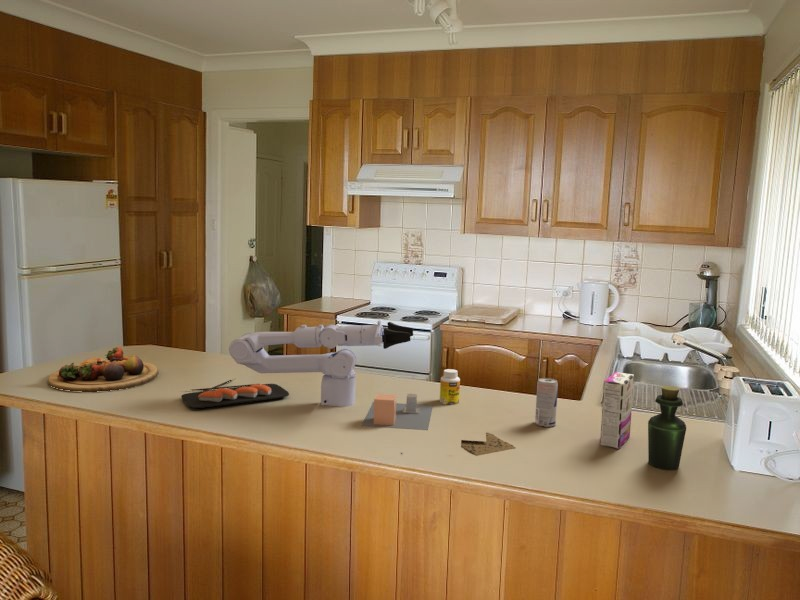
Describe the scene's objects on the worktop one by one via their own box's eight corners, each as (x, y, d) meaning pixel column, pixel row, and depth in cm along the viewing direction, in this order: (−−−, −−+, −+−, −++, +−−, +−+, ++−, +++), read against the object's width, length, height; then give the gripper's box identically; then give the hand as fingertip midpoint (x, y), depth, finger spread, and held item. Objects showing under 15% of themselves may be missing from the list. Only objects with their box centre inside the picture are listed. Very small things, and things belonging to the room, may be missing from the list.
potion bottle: (649, 455, 157) (656, 381, 154) (686, 463, 152) (693, 387, 150) (640, 465, 150) (646, 388, 148) (678, 474, 146) (685, 395, 143)
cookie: (476, 457, 153) (476, 453, 153) (447, 441, 164) (447, 437, 164) (517, 450, 159) (517, 446, 159) (487, 434, 170) (487, 430, 169)
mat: (360, 429, 169) (361, 425, 169) (373, 405, 190) (373, 401, 190) (427, 433, 167) (427, 430, 167) (432, 408, 188) (432, 405, 188)
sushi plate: (190, 414, 179) (190, 400, 178) (167, 387, 204) (167, 375, 204) (292, 400, 193) (292, 388, 193) (258, 376, 219) (258, 365, 218)
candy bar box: (610, 432, 172) (615, 371, 169) (630, 436, 169) (635, 374, 167) (598, 445, 162) (603, 380, 160) (619, 449, 160) (624, 383, 157)
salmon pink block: (373, 424, 170) (374, 399, 169) (376, 417, 176) (376, 393, 175) (393, 425, 170) (394, 400, 169) (395, 419, 175) (396, 394, 174)
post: (402, 413, 180) (403, 397, 179) (404, 408, 184) (404, 392, 184) (418, 414, 180) (419, 398, 179) (420, 409, 184) (420, 393, 183)
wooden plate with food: (88, 364, 228) (86, 341, 227) (176, 369, 224) (175, 345, 222) (23, 392, 197) (21, 364, 195) (124, 397, 192) (123, 370, 191)
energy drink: (556, 422, 179) (559, 379, 177) (554, 428, 174) (557, 384, 172) (536, 419, 181) (538, 376, 179) (533, 425, 176) (536, 381, 174)
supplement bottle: (447, 409, 188) (448, 374, 187) (435, 404, 193) (437, 369, 191) (462, 406, 191) (464, 371, 190) (451, 401, 196) (452, 367, 194)
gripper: (357, 325, 177) (408, 324, 175) (366, 317, 191) (413, 316, 190) (358, 351, 178) (409, 350, 176) (367, 341, 192) (414, 340, 190)
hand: (411, 334), depth 183 cm, fingers open, 7 cm apart
